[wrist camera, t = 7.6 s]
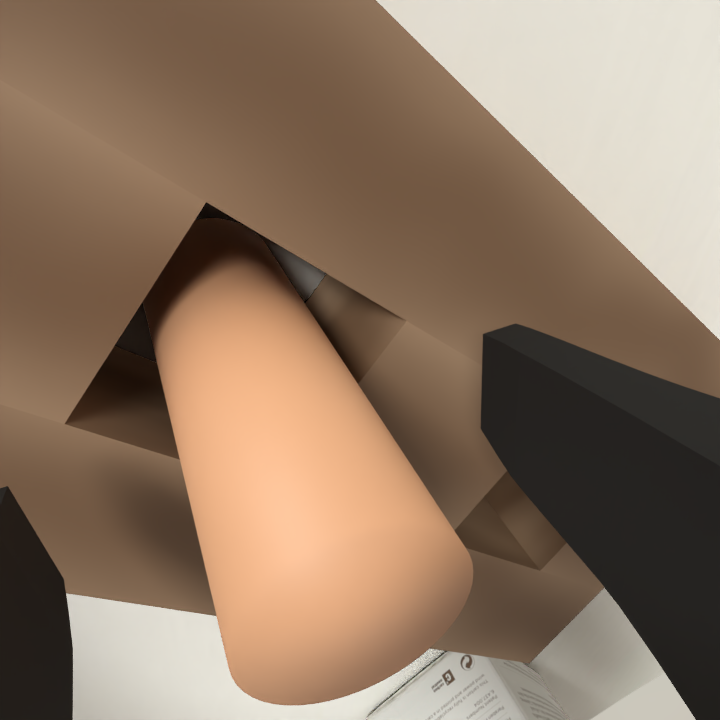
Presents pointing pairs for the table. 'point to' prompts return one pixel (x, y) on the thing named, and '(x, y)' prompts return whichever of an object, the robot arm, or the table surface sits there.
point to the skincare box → (472, 692)
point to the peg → (294, 482)
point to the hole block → (309, 242)
